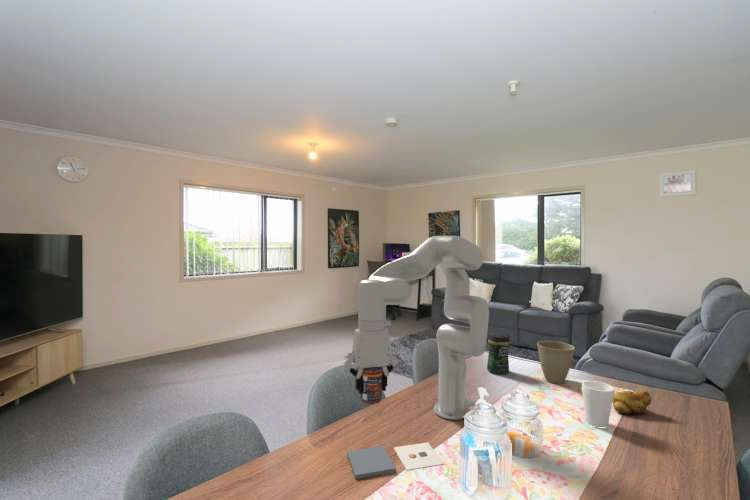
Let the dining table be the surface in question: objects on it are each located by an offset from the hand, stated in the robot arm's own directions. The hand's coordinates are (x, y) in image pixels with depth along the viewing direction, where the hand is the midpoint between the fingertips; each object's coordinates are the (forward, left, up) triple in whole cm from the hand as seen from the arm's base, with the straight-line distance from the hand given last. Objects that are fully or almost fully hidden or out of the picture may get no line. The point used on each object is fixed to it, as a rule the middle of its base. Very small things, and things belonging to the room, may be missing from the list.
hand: (371, 389), depth 100 cm
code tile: (-14, 0, -20) cm, 25 cm away
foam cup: (-80, -2, -21) cm, 83 cm away
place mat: (0, 0, -20) cm, 20 cm away
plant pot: (-95, -38, -21) cm, 104 cm away
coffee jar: (-77, -54, -21) cm, 96 cm away
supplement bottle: (0, 0, -3) cm, 3 cm away
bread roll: (-100, -7, -21) cm, 102 cm away
